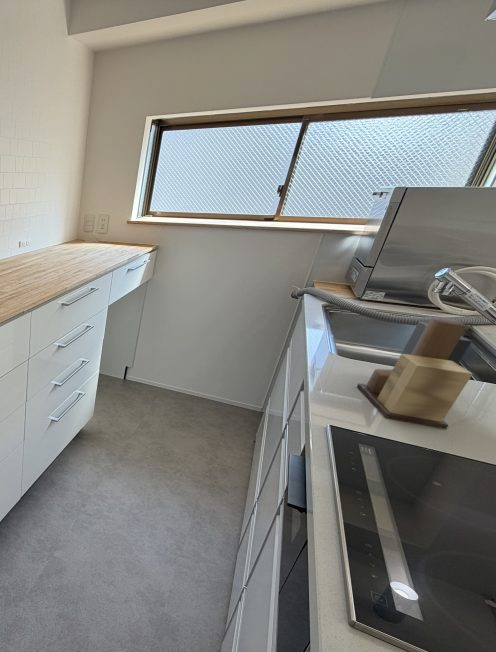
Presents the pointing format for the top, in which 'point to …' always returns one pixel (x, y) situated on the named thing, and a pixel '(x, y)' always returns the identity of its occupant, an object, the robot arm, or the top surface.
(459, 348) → the grey books
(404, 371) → the wood cube on plate
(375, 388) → the brown l-shaped piece
